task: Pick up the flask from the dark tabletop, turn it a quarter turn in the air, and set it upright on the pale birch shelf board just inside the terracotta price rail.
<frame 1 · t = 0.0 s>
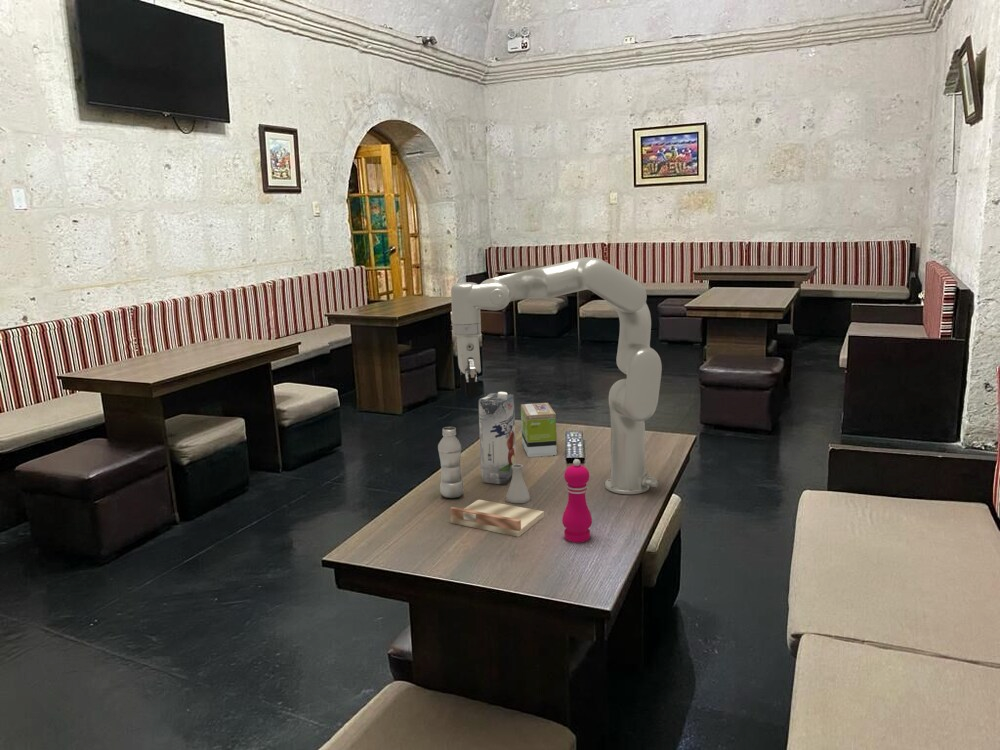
hand: (469, 392, 202), 31 cm above the table, tool pointing down, fingers open, 9 cm apart
pepper mill: (577, 538, 183), on the table
tea box: (538, 450, 253), on the table
shelf board: (497, 519, 195), on the table
plastic bottle: (452, 497, 213), on the table
juice carton: (498, 480, 225), on the table
flask: (517, 500, 209), on the table
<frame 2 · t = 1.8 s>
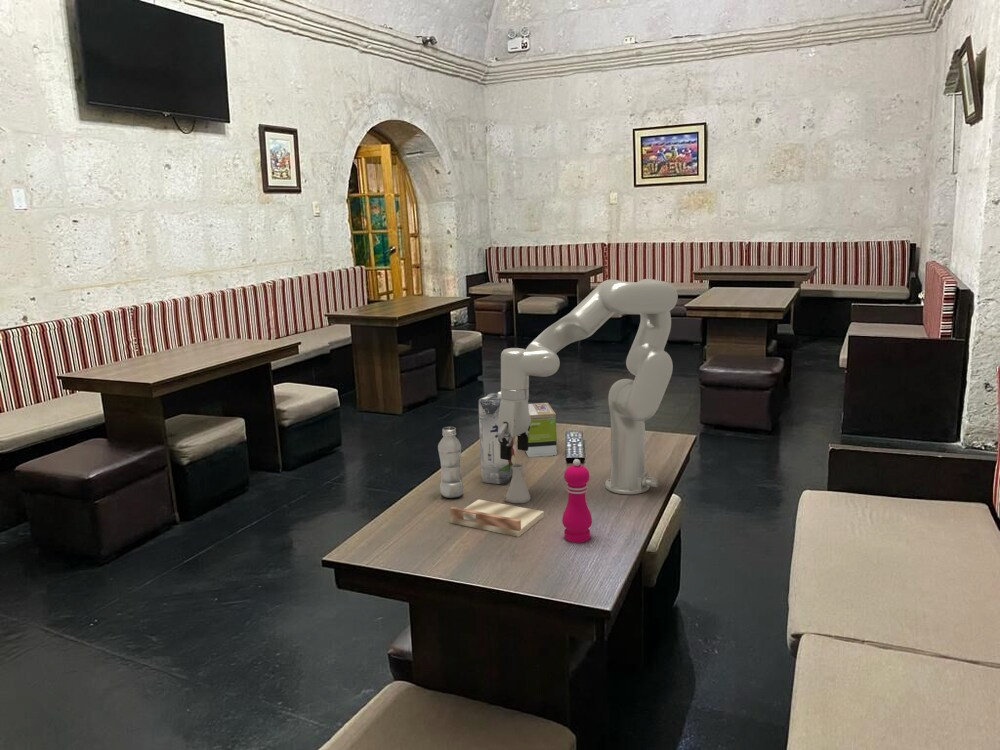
hand: (514, 454, 206), 13 cm above the table, tool pointing down, fingers open, 9 cm apart
nothing on the table moved.
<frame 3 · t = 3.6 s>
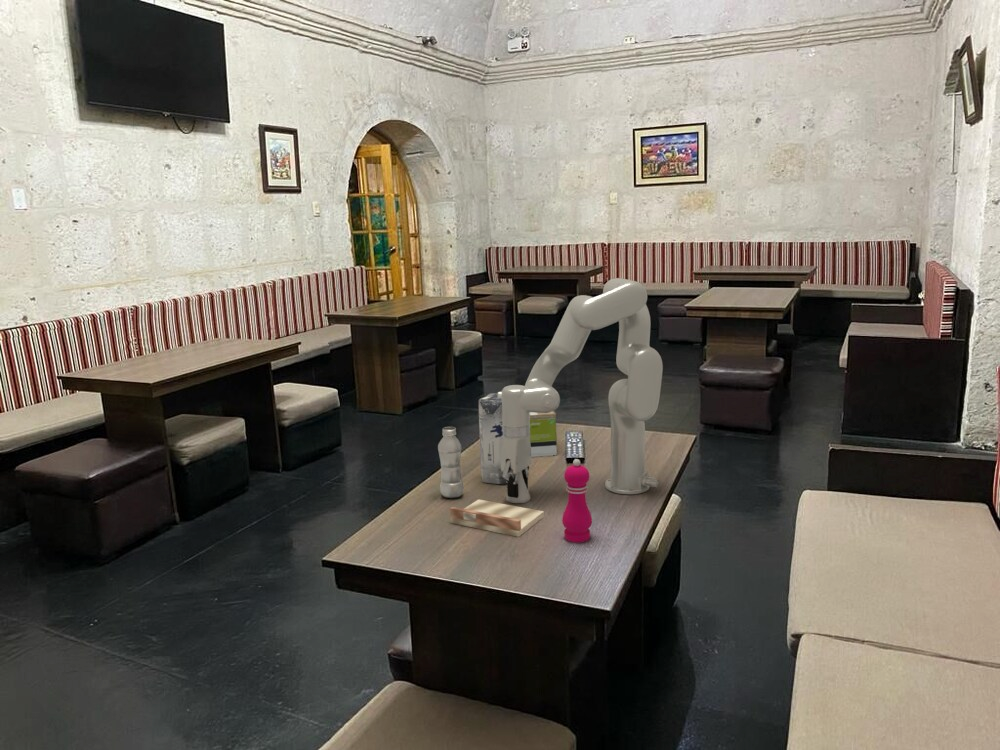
hand: (517, 492, 208), 2 cm above the table, tool pointing down, fingers closed on flask, 4 cm apart
flask: (518, 500, 209), on the table, touching gripper
everything else where it was.
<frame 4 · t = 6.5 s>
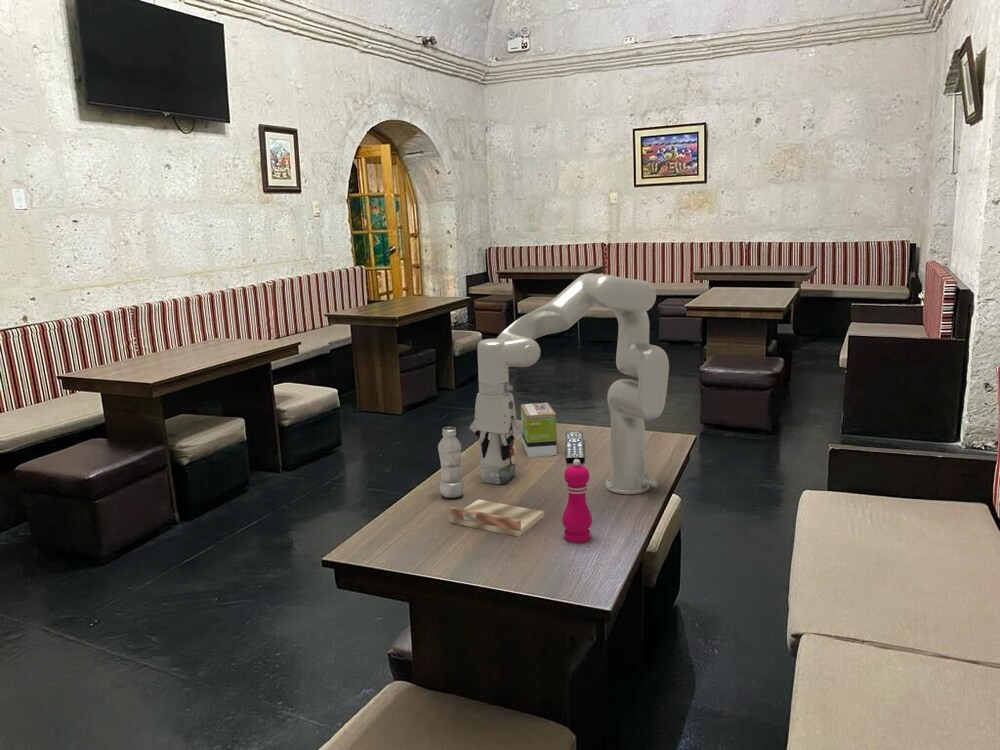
hand: (496, 456, 192), 17 cm above the table, tool pointing down, fingers closed on flask, 4 cm apart
flask: (496, 464, 192), point 15 cm above the table, touching gripper
everything else where it was.
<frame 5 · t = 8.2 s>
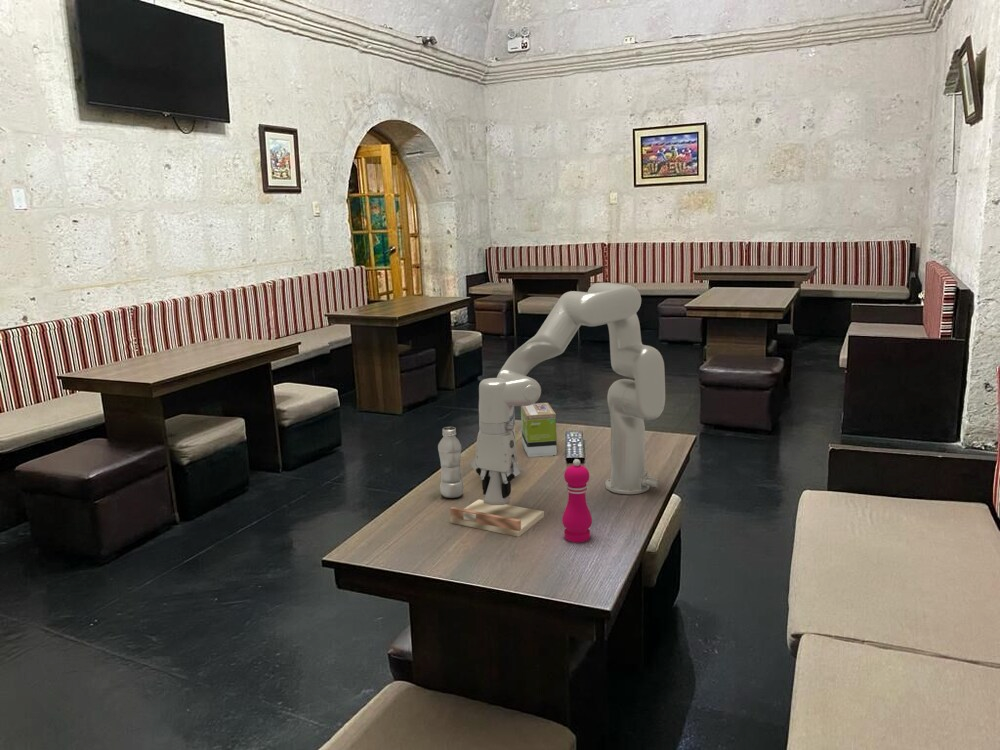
hand: (496, 494, 194), 7 cm above the table, tool pointing down, fingers closed on flask, 4 cm apart
flask: (496, 502, 194), point 5 cm above the table, touching gripper
everything else where it was.
when the fingers open (4 cm above the table, at t = 9.6 s): flask stays where it is, resting on shelf board.
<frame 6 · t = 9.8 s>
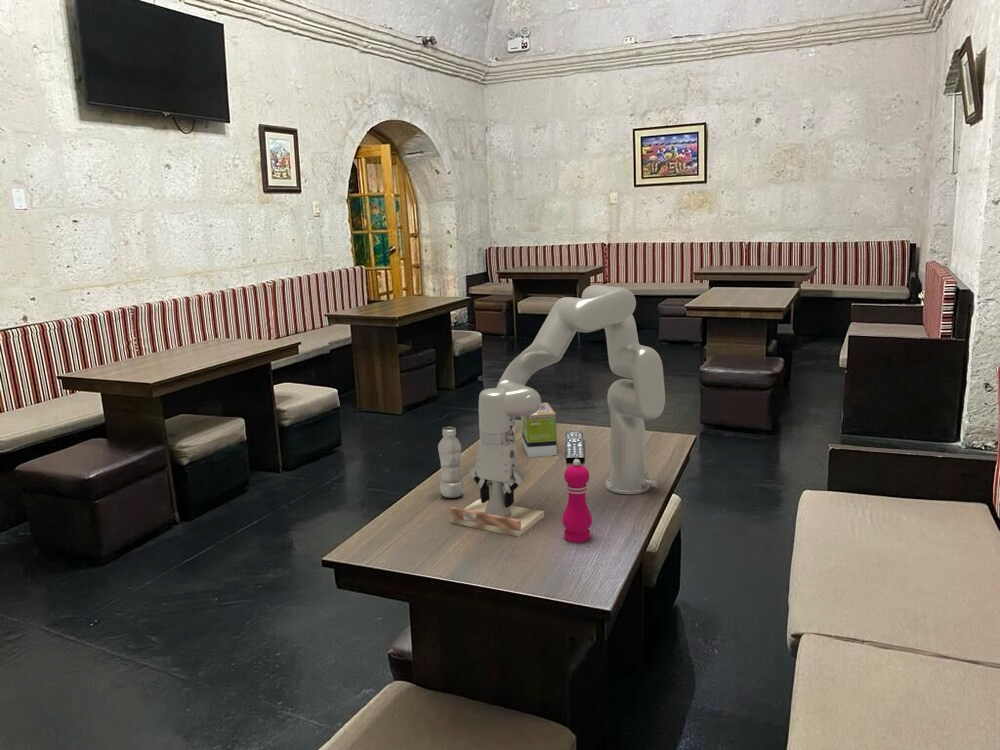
hand: (497, 503, 194), 5 cm above the table, tool pointing down, fingers open, 6 cm apart
flask: (498, 514, 195), point 1 cm above the table, touching shelf board
everything else where it was.
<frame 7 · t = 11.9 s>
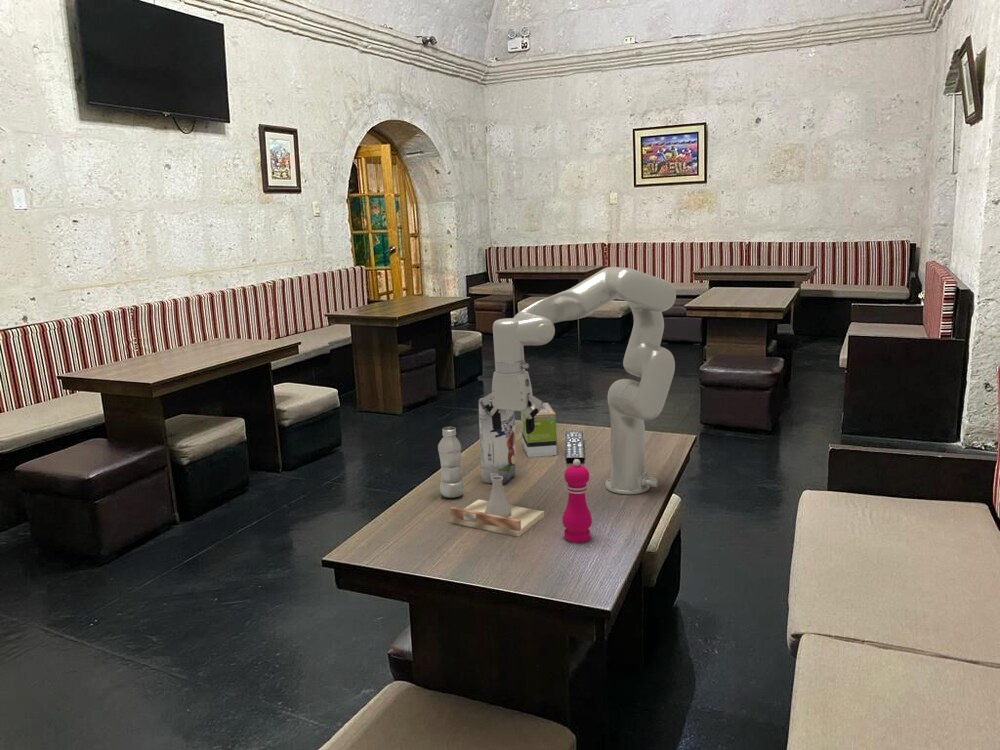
hand: (513, 430, 196), 22 cm above the table, tool pointing down, fingers open, 9 cm apart
nothing on the table moved.
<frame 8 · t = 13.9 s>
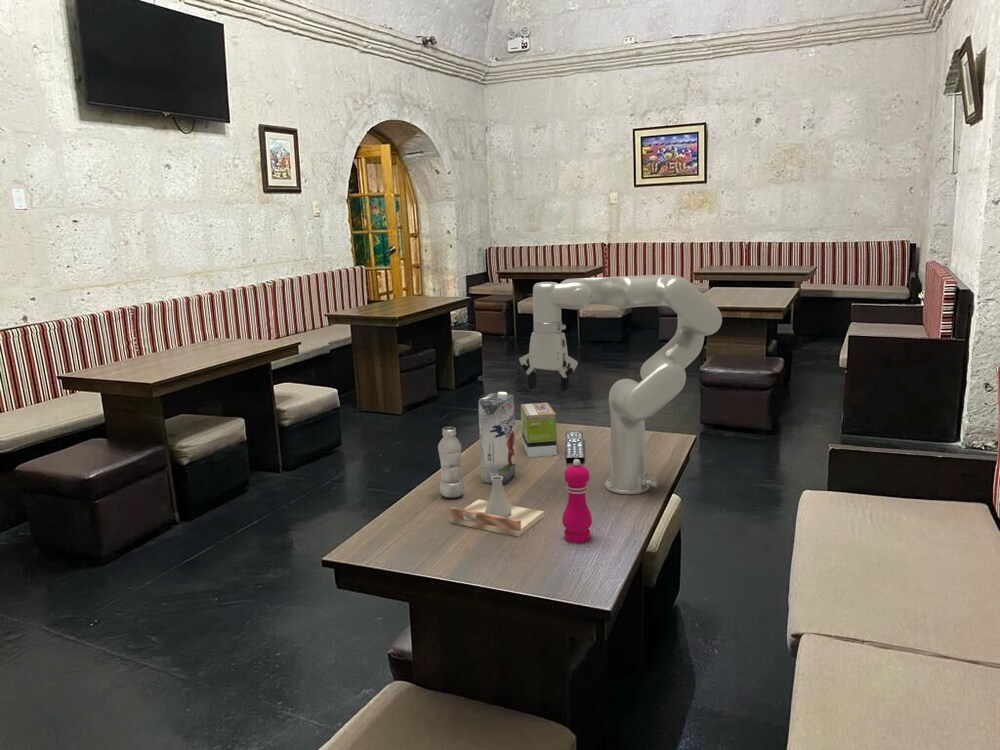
hand: (548, 389, 207), 30 cm above the table, tool pointing down, fingers open, 9 cm apart
nothing on the table moved.
at the end: flask inside the target area on the shelf board (0.7 cm from its centre), point 1.3 cm above the shelf board's base; flask tilted 0°; the gripper is holding nothing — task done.
